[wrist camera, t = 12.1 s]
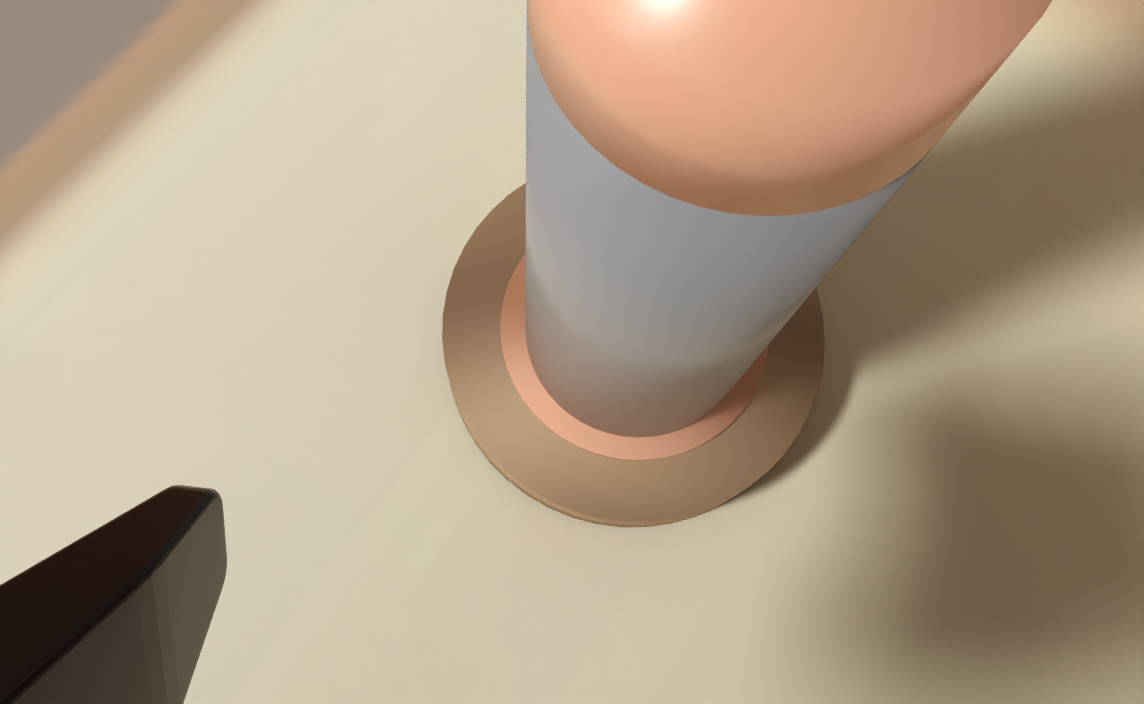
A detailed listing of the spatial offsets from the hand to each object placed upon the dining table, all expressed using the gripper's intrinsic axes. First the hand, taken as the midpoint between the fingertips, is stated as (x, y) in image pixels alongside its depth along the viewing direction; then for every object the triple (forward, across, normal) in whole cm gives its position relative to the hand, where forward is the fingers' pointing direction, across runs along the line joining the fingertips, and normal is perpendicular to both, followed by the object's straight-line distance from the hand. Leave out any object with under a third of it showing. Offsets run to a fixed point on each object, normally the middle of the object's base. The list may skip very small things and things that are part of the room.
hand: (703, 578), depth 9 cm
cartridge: (+11, 0, +3) cm, 12 cm away
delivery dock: (+12, 0, +4) cm, 13 cm away
